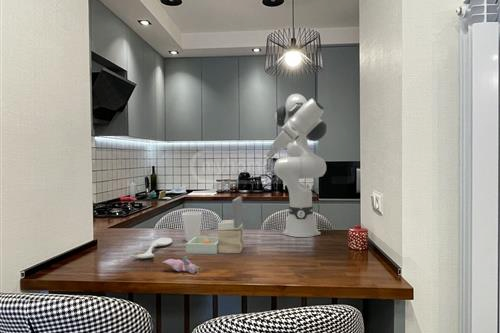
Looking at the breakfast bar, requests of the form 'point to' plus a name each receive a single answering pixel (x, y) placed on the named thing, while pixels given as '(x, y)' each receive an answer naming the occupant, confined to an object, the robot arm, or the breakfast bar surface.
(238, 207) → the lever flap
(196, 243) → the tray
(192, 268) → the rabbit figure
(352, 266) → the breakfast bar surface
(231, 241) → the stand
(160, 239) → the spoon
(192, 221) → the foam cup
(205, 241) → the ball
